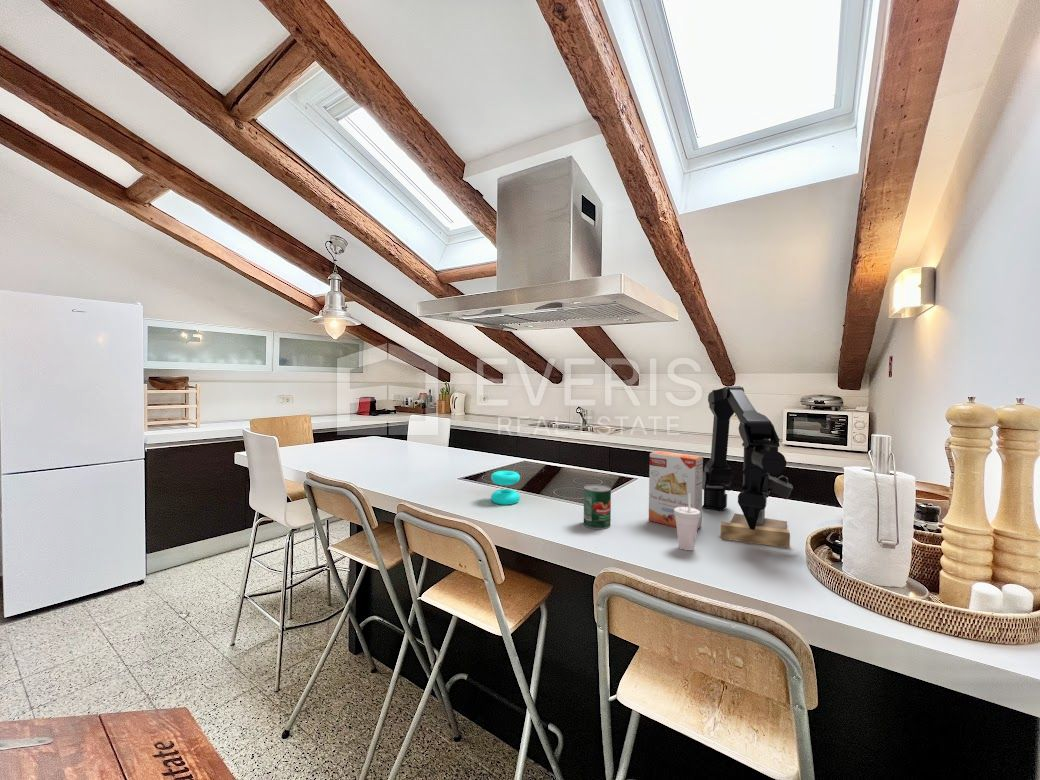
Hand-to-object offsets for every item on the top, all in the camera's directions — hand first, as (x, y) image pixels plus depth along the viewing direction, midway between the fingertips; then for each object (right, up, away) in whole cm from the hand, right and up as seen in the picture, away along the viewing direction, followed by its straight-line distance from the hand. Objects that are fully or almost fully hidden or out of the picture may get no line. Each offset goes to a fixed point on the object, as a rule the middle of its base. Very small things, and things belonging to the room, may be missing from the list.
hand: (754, 524), depth 118 cm
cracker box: (-17, -4, +13) cm, 22 cm away
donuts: (-67, -3, +36) cm, 76 cm away
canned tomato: (-40, -4, +12) cm, 42 cm away
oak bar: (0, -5, 0) cm, 5 cm away
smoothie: (-20, -5, -5) cm, 21 cm away
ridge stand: (+8, -4, +12) cm, 15 cm away
